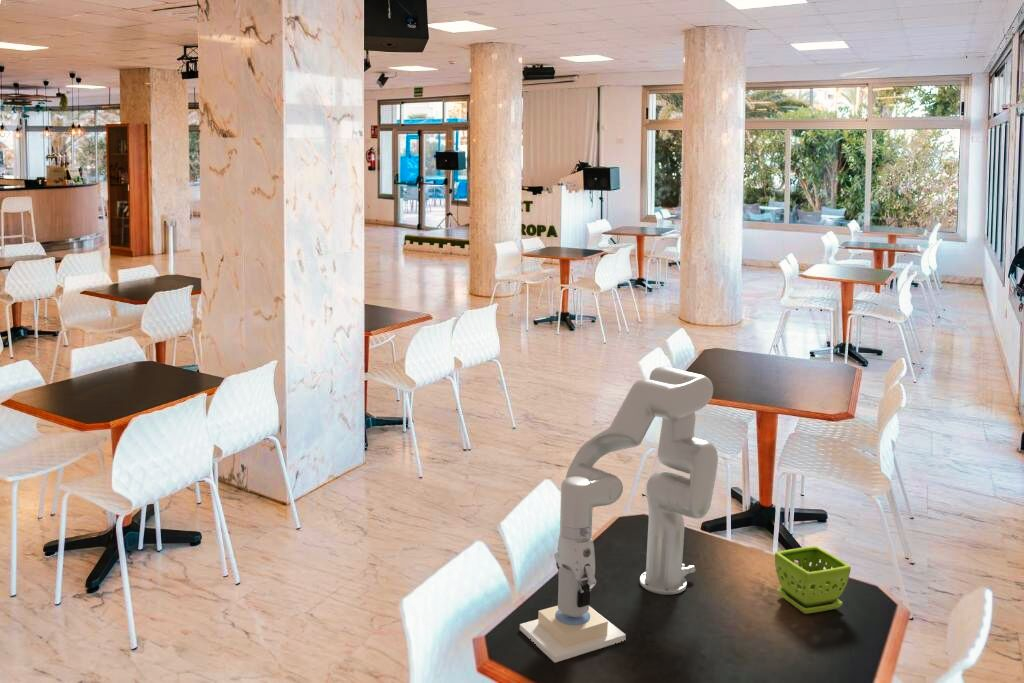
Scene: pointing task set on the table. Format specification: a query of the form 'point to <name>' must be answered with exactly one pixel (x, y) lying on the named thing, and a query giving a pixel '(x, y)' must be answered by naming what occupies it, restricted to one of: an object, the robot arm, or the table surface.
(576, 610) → the can
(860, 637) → the table surface
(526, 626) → the base
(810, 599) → the flower pot
